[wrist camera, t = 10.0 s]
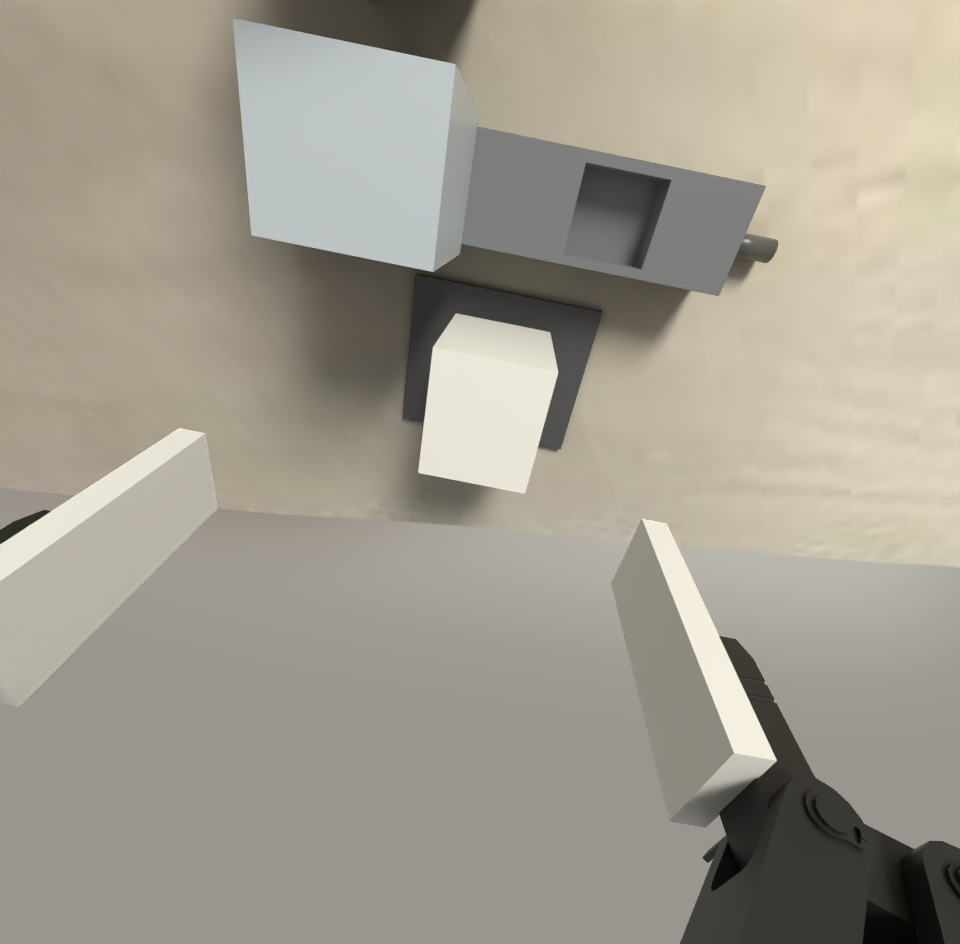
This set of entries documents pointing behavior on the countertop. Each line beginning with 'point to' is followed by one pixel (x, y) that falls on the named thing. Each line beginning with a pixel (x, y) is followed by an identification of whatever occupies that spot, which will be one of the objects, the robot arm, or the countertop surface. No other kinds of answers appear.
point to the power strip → (609, 212)
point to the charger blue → (354, 146)
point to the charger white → (487, 402)
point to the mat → (447, 298)
